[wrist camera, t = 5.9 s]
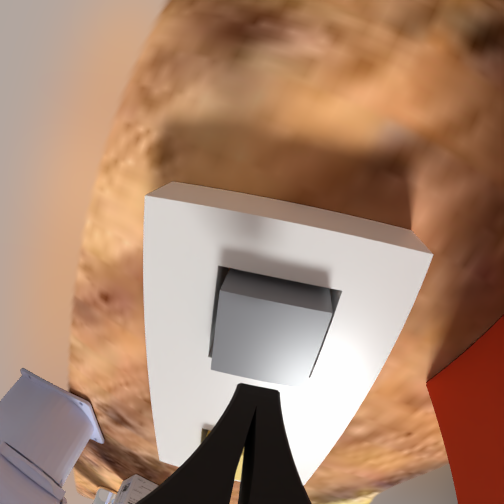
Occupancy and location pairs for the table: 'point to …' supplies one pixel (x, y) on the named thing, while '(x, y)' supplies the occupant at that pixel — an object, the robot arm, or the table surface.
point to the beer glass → (104, 496)
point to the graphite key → (269, 328)
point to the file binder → (474, 418)
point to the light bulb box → (134, 490)
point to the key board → (280, 266)
